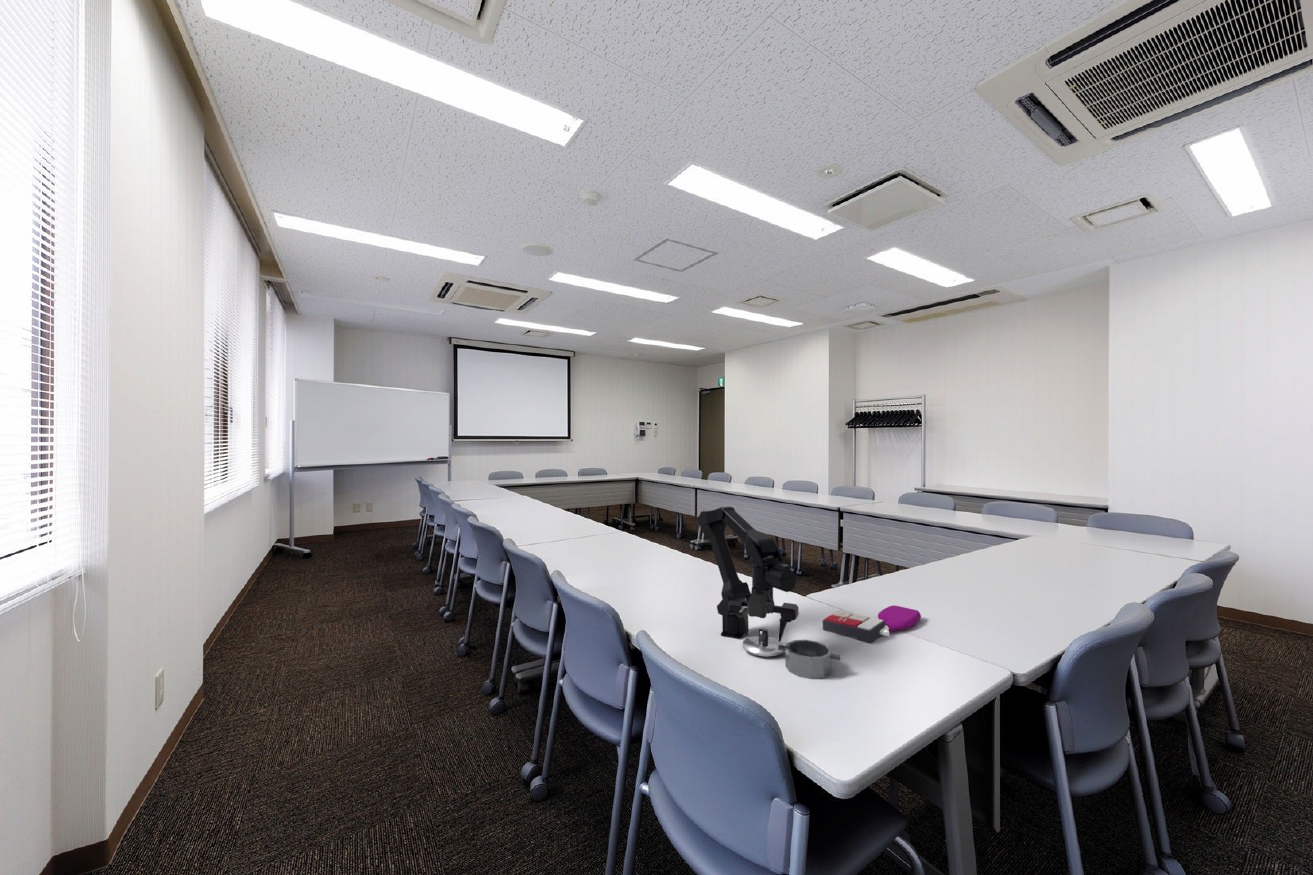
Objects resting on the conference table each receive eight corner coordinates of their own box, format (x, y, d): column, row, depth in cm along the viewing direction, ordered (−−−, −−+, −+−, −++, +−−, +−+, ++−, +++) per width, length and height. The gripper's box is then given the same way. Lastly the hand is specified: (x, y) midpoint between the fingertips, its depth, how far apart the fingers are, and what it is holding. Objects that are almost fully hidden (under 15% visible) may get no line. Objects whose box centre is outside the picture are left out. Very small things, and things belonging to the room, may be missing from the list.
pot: (774, 671, 122) (774, 651, 122) (782, 654, 132) (782, 635, 132) (838, 684, 115) (837, 663, 115) (842, 664, 125) (841, 645, 125)
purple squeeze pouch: (924, 620, 156) (895, 642, 139) (889, 612, 164) (857, 632, 147) (924, 611, 156) (894, 632, 139) (889, 603, 164) (857, 622, 147)
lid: (737, 655, 132) (737, 634, 132) (748, 639, 142) (748, 620, 142) (780, 663, 127) (780, 641, 127) (788, 646, 137) (788, 626, 137)
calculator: (838, 609, 157) (885, 618, 146) (838, 622, 156) (886, 632, 146) (821, 617, 149) (870, 628, 138) (822, 631, 149) (871, 643, 138)
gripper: (721, 586, 132) (722, 643, 132) (791, 595, 124) (792, 655, 124) (733, 576, 142) (734, 629, 142) (798, 583, 134) (799, 639, 134)
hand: (763, 638), depth 135 cm, fingers open, 9 cm apart
